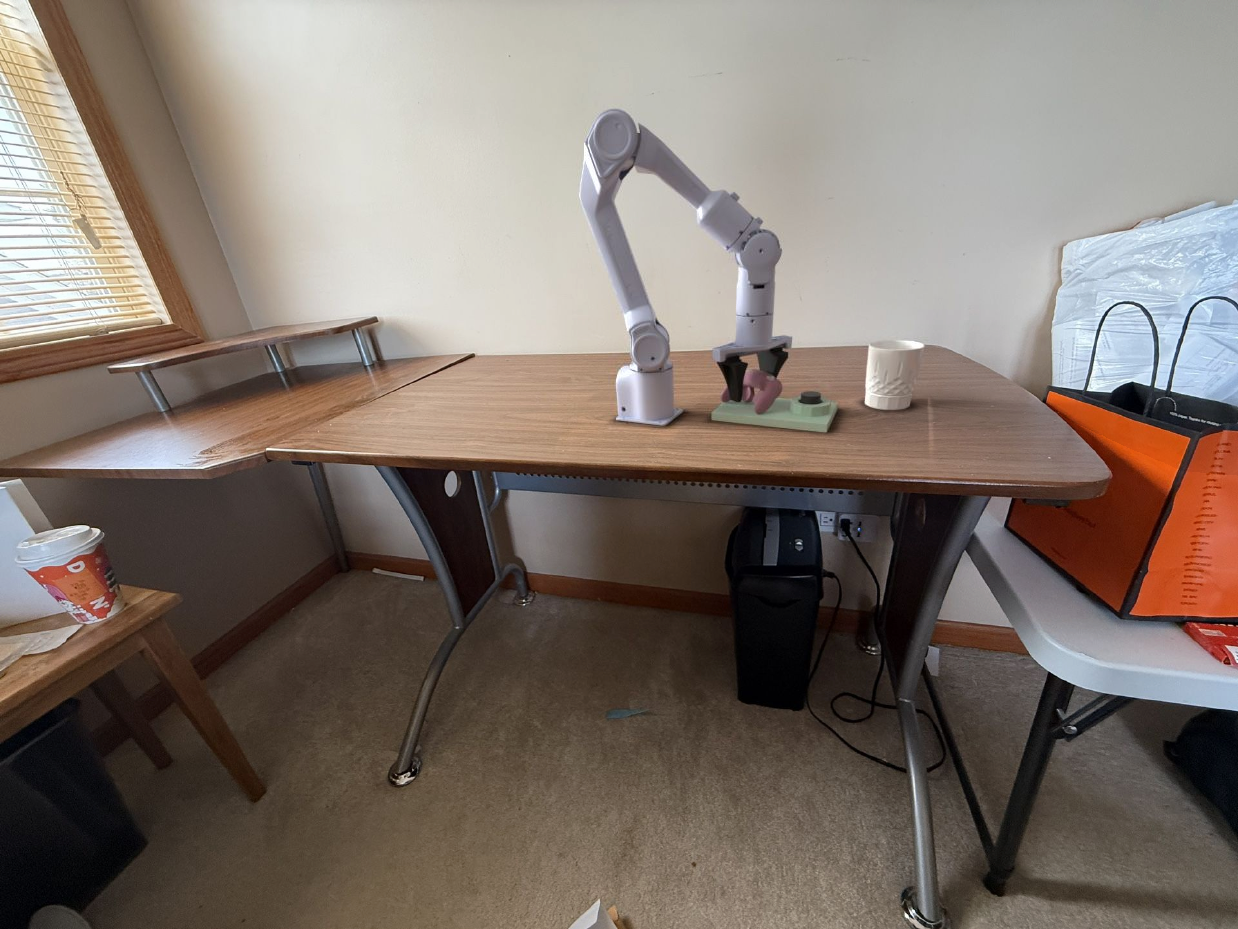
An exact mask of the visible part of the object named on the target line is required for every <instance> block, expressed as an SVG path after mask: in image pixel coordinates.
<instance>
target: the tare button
mask: <svg viewBox="0 0 1238 929" xmlns="http://www.w3.org/2000/svg"><path fill="white" fill-rule="evenodd" d="M800 396H801V400H800V403H802V404H809V405H815V404H820V402H821V397H822V393H821V392H819V391H814V390H813V391H812V390H808V391H807V390H806V391H802V392H801V393H800Z"/></svg>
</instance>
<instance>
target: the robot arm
mask: <svg viewBox="0 0 1238 929" xmlns="http://www.w3.org/2000/svg"><path fill="white" fill-rule="evenodd" d="M637 125H638V128H637ZM637 125H636V123H635V120H634V119H633V118H632V115H630V114H629V113H628V112H626V111H625V110H623V109H620V108H616V107H615V108H608V109H605V110H604V111H602V112H601V113H599V114H598V115H597V117H596V118H595V119H594V121H593V123H592V125H591V127H590V129H589V131H588V133H587V135H586V138H585V140H584V144H583V147H584V148H583V149H584V150H583V151H584V153H583V161H582V162H583V163H582V171H581V172H582V173H581V179H580V186H579V200H580V204H581V207H582V209H583V212H584V214H585V217H586V220H587V223H588V225H589V228H590V230H591V233H592V237H593V238H594V240H595V243H596V246H597V249H598V251H599V254H600V256H601V259H602V262H603V264H604V267H605V269H606V272H607V275H608V277H609V280H610V283H611V286H612V288H613V290H614V293H615V295H616V296H615V297H616V298H617V301H618V303H619V306H620V309H621V311H622V314H623V317H624V322H625V327H626V330H627V333H628V335H629V336H628V337H629V340H630V341H629V342H630V346H629V355H630V358H631V360H632V361H631V362H630V363H629V365H623V366H622V367H621V368H620V369H619V370H618V372H617V374H616V380H615V388H616V389H615V391H616V404H617V415H618V416H616V417H615V418H616V419H615V420H616V421H618V422H619V421H620V422H629V423H636V424H645V425H651V426H661V427H664V426H665V427H666V426H667V425H668V424H669V423H671V422H672V421H673V420H674V419H676V418H677V417H679V416H680V415H681V414H682V413H684V409H683V408H677V407H675V388H674V386H675V383H674V362H673V361H672V360H670V354H671V347H670V346H671V345H670V338H671V337H670V335H669V331H668V330H667V328H666V327H665V326H664V325H663V324H662V323H661V322H660V321H659V319H658V317H657V315H656V312H655V309H654V308H653V306H652V303H651V300H650V298H649V295H648V292H647V289H646V287H645V286H646V285H645V284H644V281H643V278H642V275H641V272H640V268H639V267H638V264H637V261H636V258H635V256H634V253H633V250H632V248H631V244H630V242H629V239H628V236H627V233H626V230H625V228H624V225H623V222H622V219H621V216H620V214H619V212H618V211H619V210H618V208H617V205H616V203H615V202H616V201H615V200H616V198H617V195H618V193H619V190H620V187H621V185H622V183H623V180H624V179H625V178H626V176H628V174H629V173H630V172H631V171H632V169H633V168H634V169H635V171H636V173H638V174H646V175H654V176H656V177H657V178H658V179H660V180H661V181H662V182H663V183H664V184H665V185H667V186H668V187H669V188H670V189H671V190H672V191H673V192H674V193H675V194H677V195H678V196H679V197H680V198H682V199H683V200H684V201H685V202H686V203H687V204H689V206H690V207H692V209H694V210H695V211H696V222H697V226H698V227H699V228H700V229H702V231H704V232H705V233H706V234H707V235H708V236H709V237H710V238H711V239H712V240H713V241H714V242H716V243H717V244H718V245H719V246H720V247H721V248H722V249H723V250H725V252H727V253H728V254H730V253H733V258H734V260H735V263H736V264H737V265H738V271H737V282H736V296H735V297H736V298H735V299H736V300H735V303H736V304H735V334H734V335H735V336H734V337H735V339H734V340H733V341H732V342H730V343H726V344H723V345H720V346H716V347H713V348H712V361H714V362H716V365H717V366H718V367H719V369H720V371H721V373H722V375H723V378H724V381H725V384H726V386H727V387H728V391H729V395H730V400H732V401H735V402H741V400H742V393H743V381H744V376H745V372H746V370H748V367H749V363H748V362H746V361H742V357H747V356H752V355H756V358H757V361H758V370H761V371H765V372H767V373H770V374H771V375H773V376H774V377H775V378H776V379H778V376H779V374H780V372H781V370H782V368H783V366H784V365H785V363H786V361H788V359H789V351H785V350H789V349H792V347H793V346H792V345H793V336H792V335H791V336H790V335H786V334H784V335H775V336H773V328H774V314H775V296H776V265H777V264H778V263H779V261H780V260H781V257H782V254H783V248H781V244H780V239H779V238H778V236H777V235H776V234H775V232H773V231H771V230H769V229H764V228H761V226H762V224H763V223H764V220H763V219H762V218H761V217H759V216H757V217H756V218H755V217H754V216H753V215H752V214H751V213H750V212H749V211H748V210H747V209H746V208H745V207H744V206H743V205H741V203H740V202H738V201H739V200H740V195H738V194H737V193H736V192H735V191H732V192H731V193H729V192H728V191H727V190H726V189H719V190H711V189H710V188H709V187H708V186H707V185H706V184H705V183H704V182H703V181H702V180H701V179H700V178H699V177H698V176H697V175H696V174H695V173H694V171H692V170H691V168H689V167H688V166H687V165H686V164H685V163H684V162H683V160H681V158H679V156H677V154H676V153H675V152H674V151H672V149H671V148H670V147H669V146H668V145H667V144H666V143H665V142H664V141H662V140H661V139H660V137H658V136H657V135H656V134H654V132H652V131H651V130H650V129H649V128H647V127H646V126H645V125H643V124H641V123H639V122H638V123H637ZM638 129H639V132H638Z"/></svg>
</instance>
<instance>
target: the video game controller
mask: <svg viewBox="0 0 1238 929" xmlns="http://www.w3.org/2000/svg"><path fill="white" fill-rule="evenodd" d="M755 389H758V390H759V391H757V392H756V393H755ZM782 392H783V383H782V382H781V381H780V379H778V378H777V379H776V378H775V377H774V376H773V375H771V374H770V373H767V372H765V371H761V370H759V369H755V368H753V369H746V372H745V376H744V381H743V393H742V401H745V402H751V401H752V400H753V403H754V404H755V412H756V413H757V414H761V413H763V412H765V411H766V410H768V409H769V408H770V407H771V405H772V404H773V403H774V401H775V399H776V398H779V397H780V396H781V394H782ZM720 401H721V402H722V403H723V402H728V401H730V395H729V391H728V387H727V385H726V386H725V388H723V390H722V391H721V394H720Z"/></svg>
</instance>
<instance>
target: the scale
mask: <svg viewBox="0 0 1238 929" xmlns="http://www.w3.org/2000/svg"><path fill="white" fill-rule="evenodd" d="M800 400H801V395H799V396H794V397H792V398H788V397H787V398H784V397H777V398H776V399H775V401H774V403H773V404H772V405H771V407H770V408H769V409H768V410H766V411H765V412H763V413H761V414H757V413H756V412H755V404H754V403H753V400H752V401H751V402H745V401H742V400H741V402H735V401H732V400H730V401H728V402H722V403H720V404H719V405H718V406H717V407H716V408H715V409H713V410H712V412H711V421H718V422H727V423H735V424H743V425H744V424H745V425H755V426H762V427H773V428H782V429H783V428H784V429H790V430H792V429H793V430H799V431H800V430H801V431H807V432H808V431H810V432H817V433H828V430H829V428H830V426H831V424H832V422H833V420H834V417H835V415H836V413H837V411H838V406H839V402H835V401H832V400H830V399H829V398H827V397H823V396H821V402H820V404H815V405H809V404H802V403H800Z"/></svg>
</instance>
